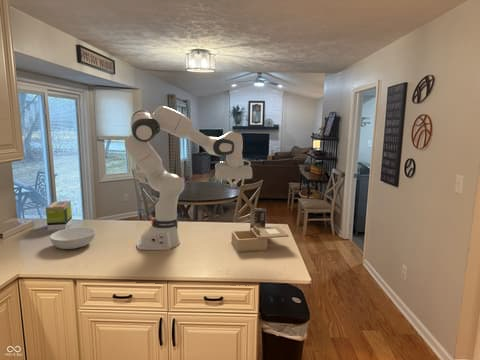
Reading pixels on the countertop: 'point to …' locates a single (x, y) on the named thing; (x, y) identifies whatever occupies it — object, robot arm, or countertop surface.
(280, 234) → the lid
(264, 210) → the coffee box
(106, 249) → the countertop surface
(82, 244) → the serving bowl
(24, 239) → the countertop surface
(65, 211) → the tea box
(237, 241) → the box
